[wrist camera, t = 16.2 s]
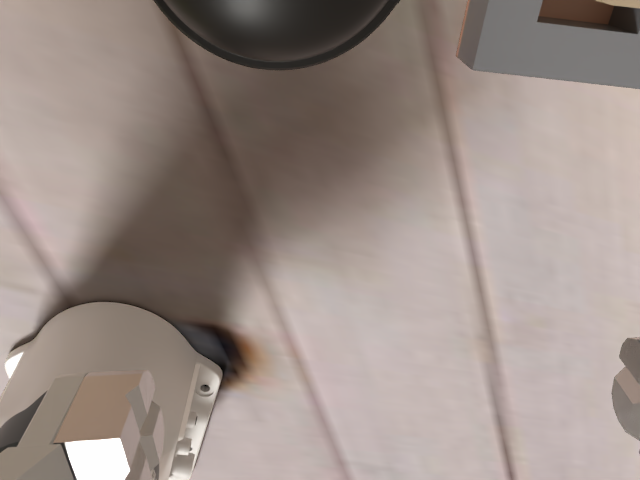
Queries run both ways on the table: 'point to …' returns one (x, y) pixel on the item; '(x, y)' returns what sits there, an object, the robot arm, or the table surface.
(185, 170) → the table surface
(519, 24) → the socket block
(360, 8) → the water bottle
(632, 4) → the handle
